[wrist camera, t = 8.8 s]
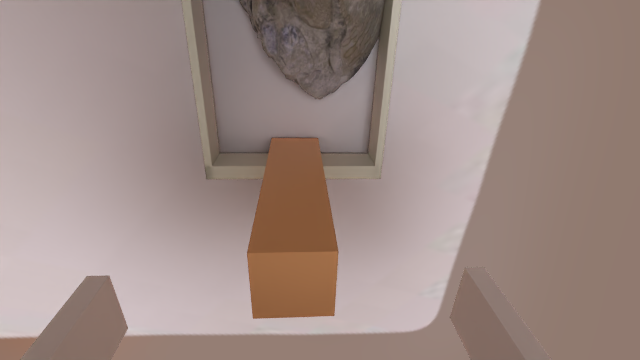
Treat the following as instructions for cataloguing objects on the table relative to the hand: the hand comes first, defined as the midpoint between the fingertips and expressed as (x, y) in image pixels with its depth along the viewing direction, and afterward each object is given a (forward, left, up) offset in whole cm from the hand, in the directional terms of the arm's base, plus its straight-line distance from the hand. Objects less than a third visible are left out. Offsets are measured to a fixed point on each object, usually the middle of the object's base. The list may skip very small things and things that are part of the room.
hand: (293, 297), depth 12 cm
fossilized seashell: (-11, +1, -15) cm, 19 cm away
